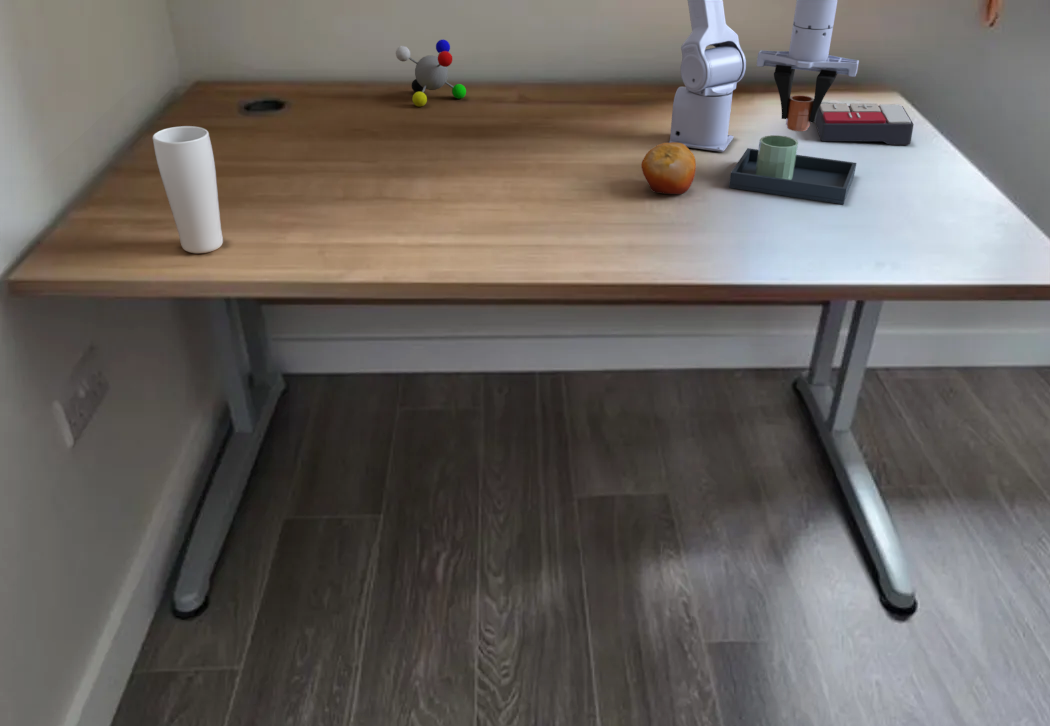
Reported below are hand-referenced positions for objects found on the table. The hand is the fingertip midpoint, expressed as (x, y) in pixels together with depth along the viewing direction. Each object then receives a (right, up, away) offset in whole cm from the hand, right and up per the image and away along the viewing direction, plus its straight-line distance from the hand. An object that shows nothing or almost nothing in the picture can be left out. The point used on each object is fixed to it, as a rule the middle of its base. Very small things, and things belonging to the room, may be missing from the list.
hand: (798, 118), depth 149 cm
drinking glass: (-84, -23, -20) cm, 89 cm away
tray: (0, -9, +2) cm, 9 cm away
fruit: (-20, -11, -1) cm, 23 cm away
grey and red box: (+17, +4, +23) cm, 29 cm away
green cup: (-3, -8, +3) cm, 9 cm away
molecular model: (-60, +15, +37) cm, 72 cm away
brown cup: (0, -1, +1) cm, 1 cm away
